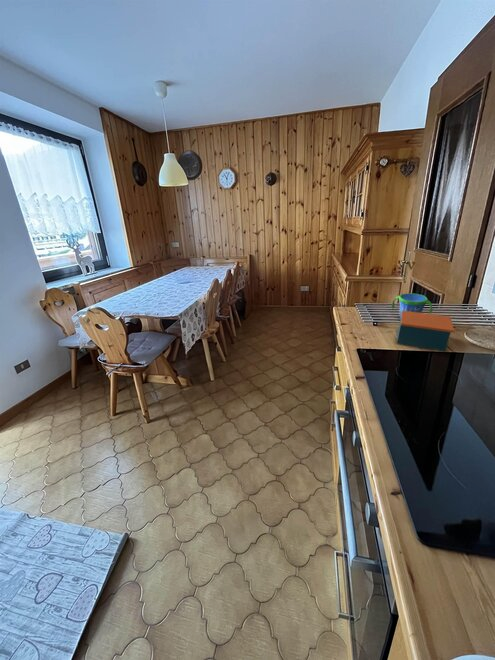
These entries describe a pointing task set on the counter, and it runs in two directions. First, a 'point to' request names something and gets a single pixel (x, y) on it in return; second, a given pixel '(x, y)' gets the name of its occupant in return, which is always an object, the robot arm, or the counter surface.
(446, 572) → the counter surface
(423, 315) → the lid
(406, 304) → the snack cup
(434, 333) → the dark teal open box
